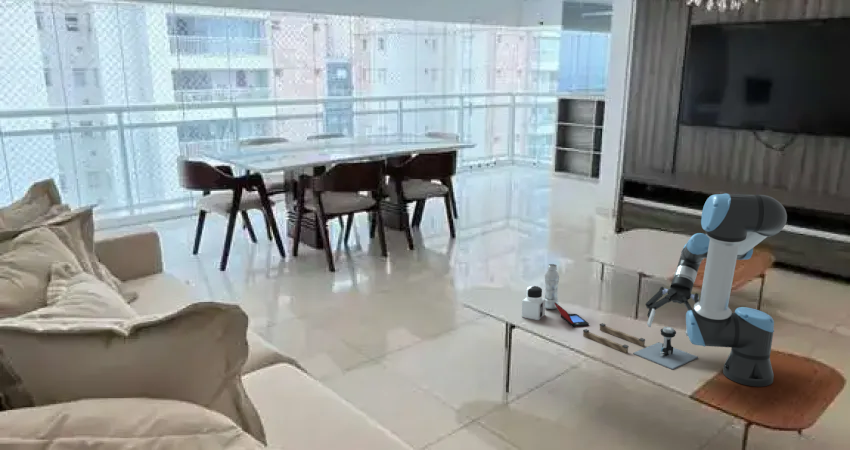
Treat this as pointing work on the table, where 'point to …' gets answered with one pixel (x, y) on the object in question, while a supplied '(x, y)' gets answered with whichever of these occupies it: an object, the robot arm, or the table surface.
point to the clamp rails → (616, 333)
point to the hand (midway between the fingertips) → (667, 329)
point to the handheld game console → (572, 318)
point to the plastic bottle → (551, 287)
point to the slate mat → (667, 361)
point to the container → (533, 303)
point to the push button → (667, 340)
